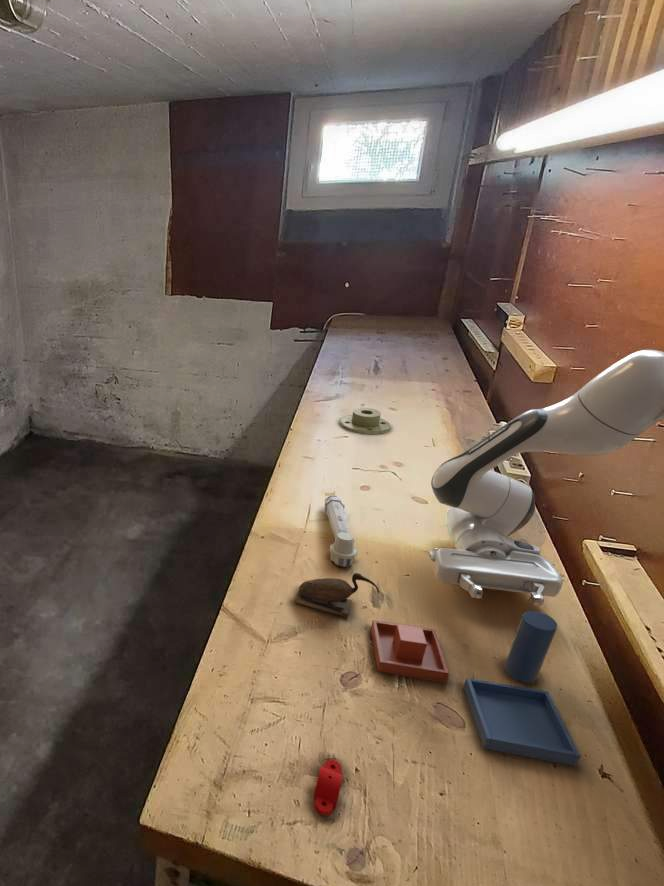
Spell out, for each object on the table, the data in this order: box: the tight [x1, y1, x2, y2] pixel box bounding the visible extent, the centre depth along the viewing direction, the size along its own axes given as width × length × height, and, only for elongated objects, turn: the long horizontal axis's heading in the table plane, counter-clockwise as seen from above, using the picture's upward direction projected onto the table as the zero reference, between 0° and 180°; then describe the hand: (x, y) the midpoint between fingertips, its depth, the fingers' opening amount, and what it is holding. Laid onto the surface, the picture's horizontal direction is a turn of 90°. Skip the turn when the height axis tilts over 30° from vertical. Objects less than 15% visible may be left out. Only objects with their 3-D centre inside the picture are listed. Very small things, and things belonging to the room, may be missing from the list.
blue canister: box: [503, 610, 558, 684], centre depth 89 cm, size 4×4×11 cm
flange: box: [340, 407, 391, 435], centre depth 185 cm, size 5×15×15 cm
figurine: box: [294, 572, 380, 618], centre depth 105 cm, size 14×4×9 cm, turn 61°
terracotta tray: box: [370, 619, 450, 684], centre depth 95 cm, size 10×10×2 cm
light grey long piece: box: [324, 495, 358, 568], centre depth 127 cm, size 5×7×25 cm
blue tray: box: [462, 677, 581, 767], centre depth 82 cm, size 11×11×2 cm
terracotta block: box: [393, 623, 427, 662], centre depth 94 cm, size 4×4×4 cm
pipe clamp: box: [313, 759, 344, 816], centre depth 74 cm, size 8×3×2 cm, turn 151°
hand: (507, 599), depth 98 cm, fingers open, 8 cm apart
